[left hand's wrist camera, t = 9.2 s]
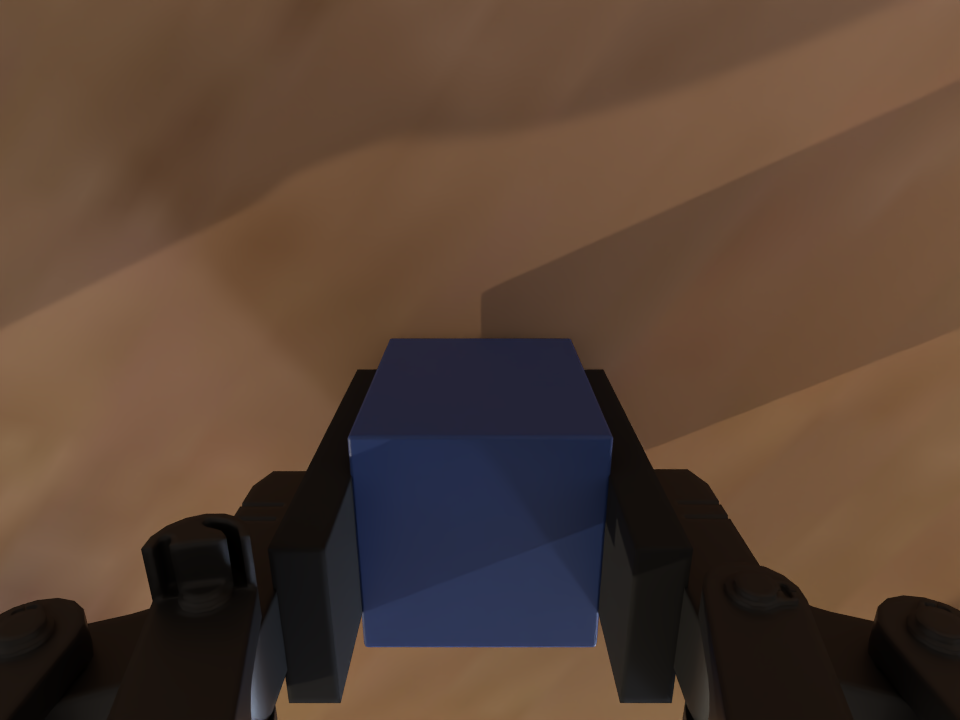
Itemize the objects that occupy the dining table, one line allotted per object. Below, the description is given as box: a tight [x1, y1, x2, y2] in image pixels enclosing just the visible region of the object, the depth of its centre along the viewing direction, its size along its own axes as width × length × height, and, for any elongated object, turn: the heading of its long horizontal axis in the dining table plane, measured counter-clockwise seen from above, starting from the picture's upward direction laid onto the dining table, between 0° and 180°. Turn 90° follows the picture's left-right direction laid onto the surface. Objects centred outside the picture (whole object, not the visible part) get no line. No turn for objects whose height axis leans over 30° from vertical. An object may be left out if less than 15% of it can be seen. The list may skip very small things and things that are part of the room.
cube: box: [348, 339, 613, 647], centre depth 13 cm, size 4×4×5 cm
